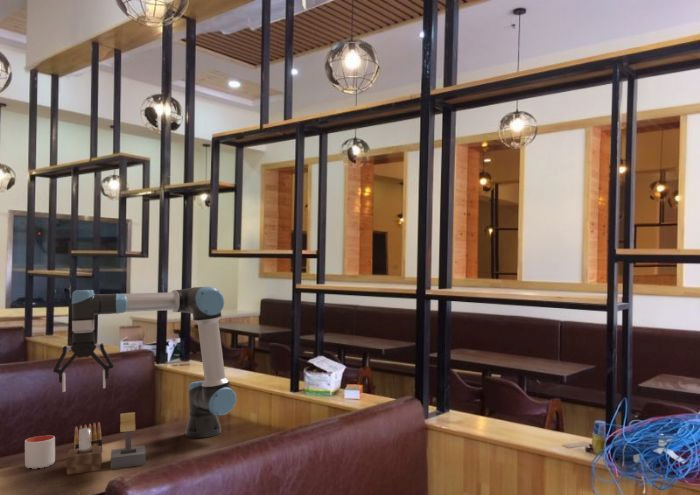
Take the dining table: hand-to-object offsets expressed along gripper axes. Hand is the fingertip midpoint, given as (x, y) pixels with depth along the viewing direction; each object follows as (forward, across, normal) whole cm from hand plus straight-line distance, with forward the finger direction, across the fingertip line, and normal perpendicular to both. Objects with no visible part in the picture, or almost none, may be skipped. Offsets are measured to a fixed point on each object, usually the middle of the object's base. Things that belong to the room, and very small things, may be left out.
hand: (84, 389), depth 223 cm
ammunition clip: (+29, 0, -19) cm, 34 cm away
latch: (+14, -15, +9) cm, 22 cm away
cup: (+28, +16, -11) cm, 35 cm away
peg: (+28, 0, 0) cm, 28 cm away
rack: (+28, 0, 0) cm, 28 cm away
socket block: (+28, -15, 0) cm, 32 cm away
